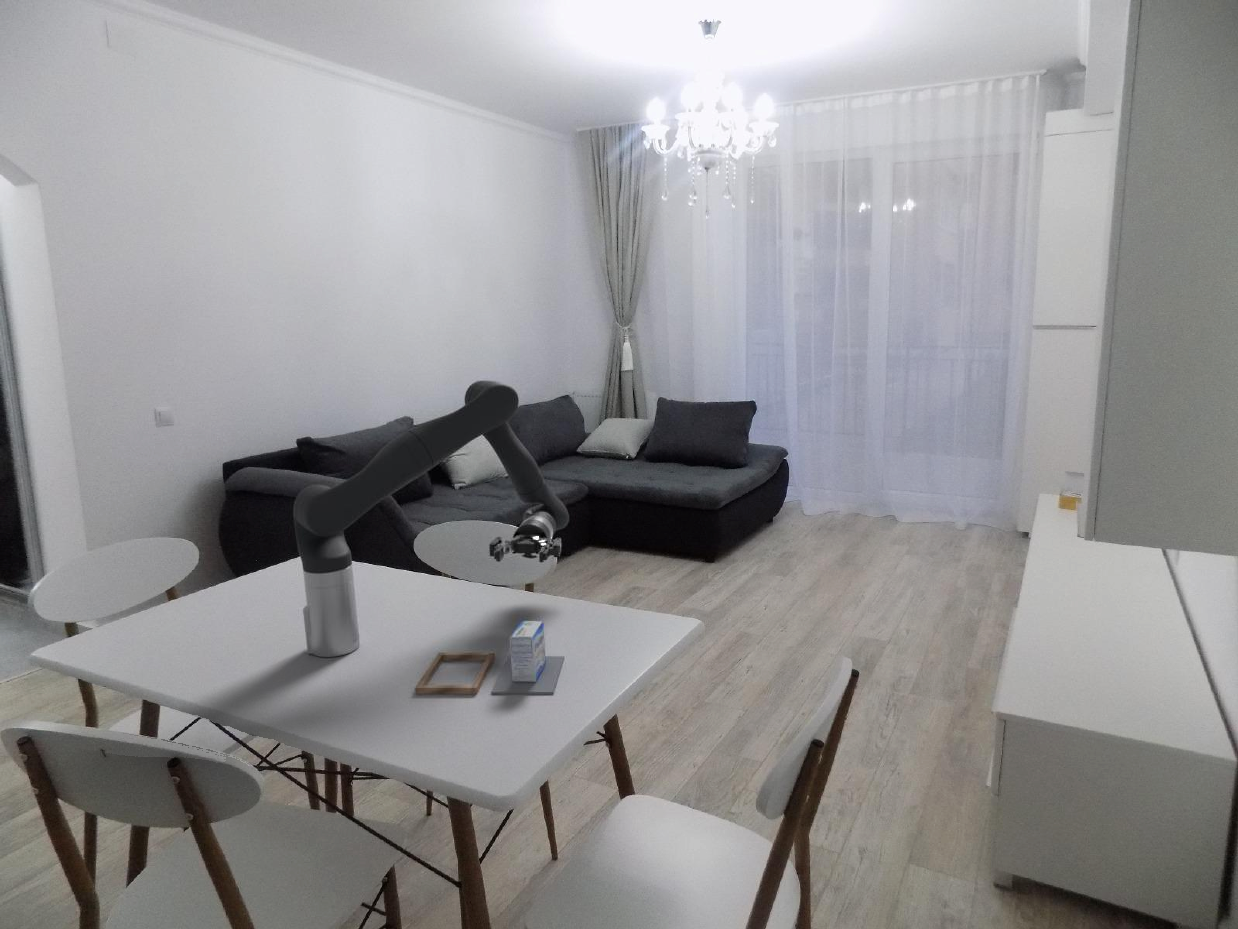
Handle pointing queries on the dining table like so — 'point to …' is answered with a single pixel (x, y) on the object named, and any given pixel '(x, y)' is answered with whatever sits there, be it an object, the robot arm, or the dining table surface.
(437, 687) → the walnut tray
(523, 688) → the charcoal mat
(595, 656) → the dining table surface
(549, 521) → the robot arm
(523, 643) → the medicine box
